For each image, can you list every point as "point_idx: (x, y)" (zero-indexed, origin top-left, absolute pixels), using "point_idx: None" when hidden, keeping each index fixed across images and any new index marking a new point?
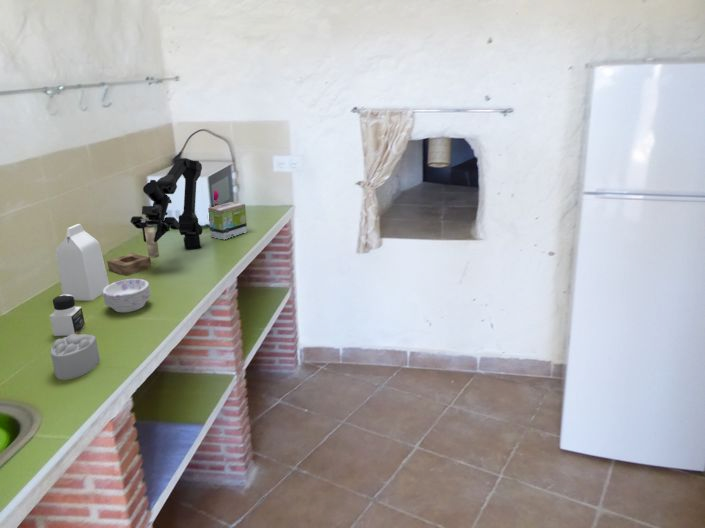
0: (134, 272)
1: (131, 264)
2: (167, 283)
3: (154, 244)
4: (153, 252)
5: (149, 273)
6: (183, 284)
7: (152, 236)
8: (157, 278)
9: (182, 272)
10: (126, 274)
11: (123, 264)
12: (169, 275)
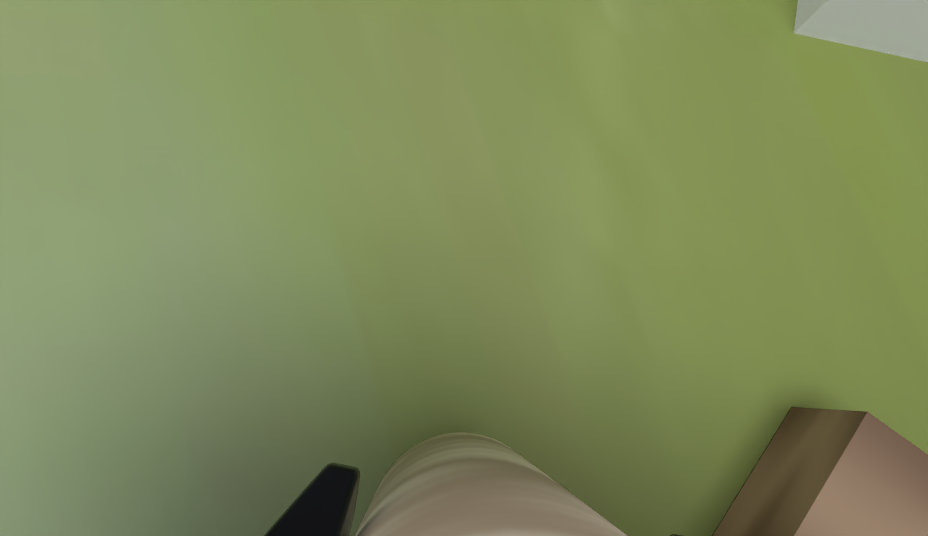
0: (733, 504)
1: (806, 504)
2: (217, 109)
3: (380, 497)
4: (430, 449)
5: (533, 464)
6: (25, 61)
7: (382, 533)
8: (378, 278)
9: (111, 466)
10: (795, 410)
11: (920, 493)
12: (257, 368)
